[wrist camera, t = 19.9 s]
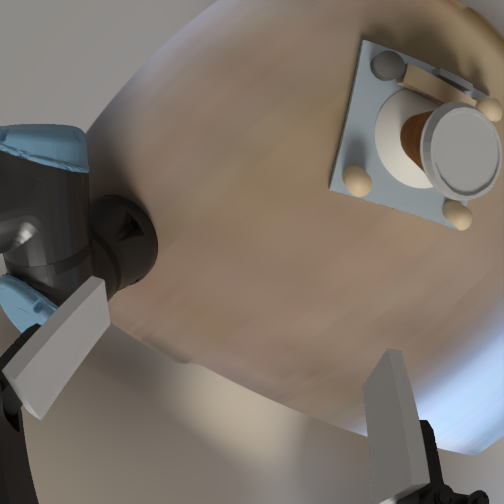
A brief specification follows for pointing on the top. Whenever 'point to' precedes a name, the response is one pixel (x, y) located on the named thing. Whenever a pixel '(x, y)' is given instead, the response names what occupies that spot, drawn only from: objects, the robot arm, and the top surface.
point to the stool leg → (416, 79)
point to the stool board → (395, 143)
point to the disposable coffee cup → (454, 149)
